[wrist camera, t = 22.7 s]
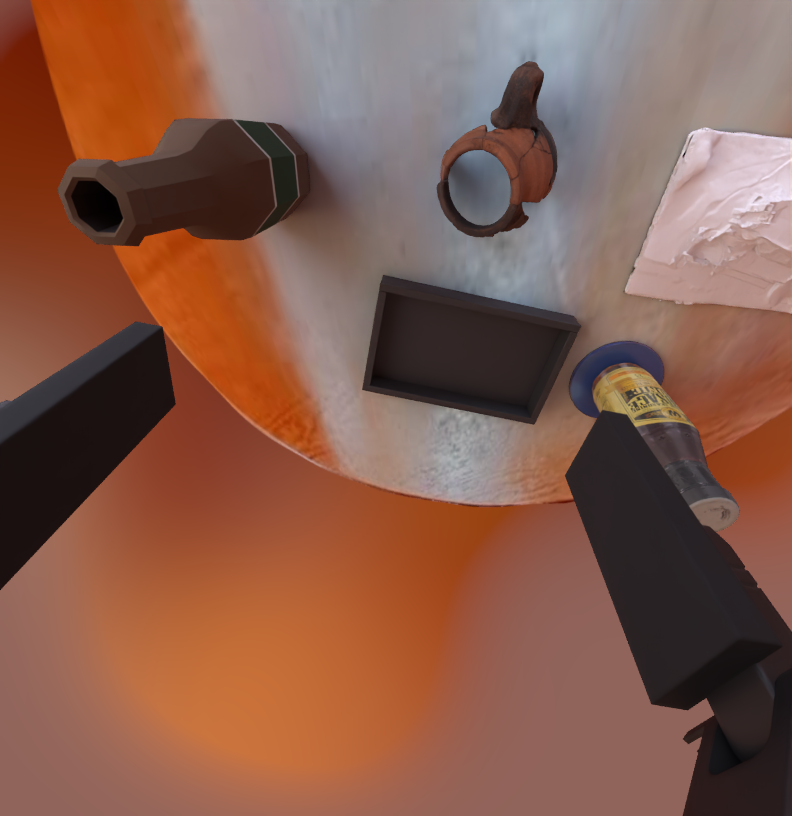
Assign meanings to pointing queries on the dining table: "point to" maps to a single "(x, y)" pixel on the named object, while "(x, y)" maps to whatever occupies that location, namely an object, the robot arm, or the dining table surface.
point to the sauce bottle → (667, 439)
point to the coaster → (604, 358)
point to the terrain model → (723, 225)
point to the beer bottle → (191, 184)
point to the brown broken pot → (509, 153)
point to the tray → (465, 350)
